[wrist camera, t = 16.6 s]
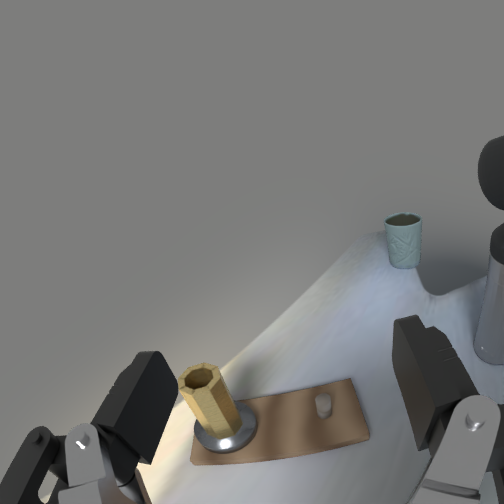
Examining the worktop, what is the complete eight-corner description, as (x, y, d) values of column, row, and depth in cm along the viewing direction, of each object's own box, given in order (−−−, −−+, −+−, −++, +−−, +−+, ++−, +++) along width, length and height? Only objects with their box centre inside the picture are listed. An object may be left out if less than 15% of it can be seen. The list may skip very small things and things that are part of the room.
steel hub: (249, 399, 41) (238, 373, 39) (265, 442, 32) (254, 419, 30) (194, 415, 39) (179, 391, 37) (202, 460, 31) (184, 439, 29)
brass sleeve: (237, 406, 38) (215, 358, 35) (245, 432, 33) (222, 386, 30) (204, 416, 37) (177, 370, 34) (209, 442, 33) (179, 398, 29)
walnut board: (350, 384, 40) (349, 362, 38) (368, 439, 30) (370, 420, 28) (202, 410, 42) (191, 391, 40) (194, 465, 32) (179, 448, 30)
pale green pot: (422, 253, 70) (420, 211, 66) (423, 270, 62) (423, 224, 58) (388, 254, 76) (384, 213, 71) (385, 271, 68) (382, 226, 64)
